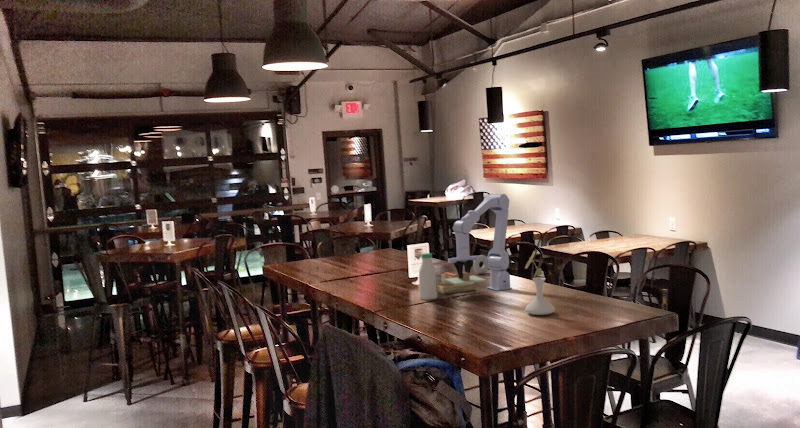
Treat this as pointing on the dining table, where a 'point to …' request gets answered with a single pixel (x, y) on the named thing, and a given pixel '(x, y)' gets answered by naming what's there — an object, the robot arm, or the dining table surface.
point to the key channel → (444, 278)
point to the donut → (477, 267)
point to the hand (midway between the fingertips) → (464, 277)
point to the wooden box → (453, 287)
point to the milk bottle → (427, 278)
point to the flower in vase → (538, 295)
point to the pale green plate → (464, 279)
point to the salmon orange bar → (450, 274)
